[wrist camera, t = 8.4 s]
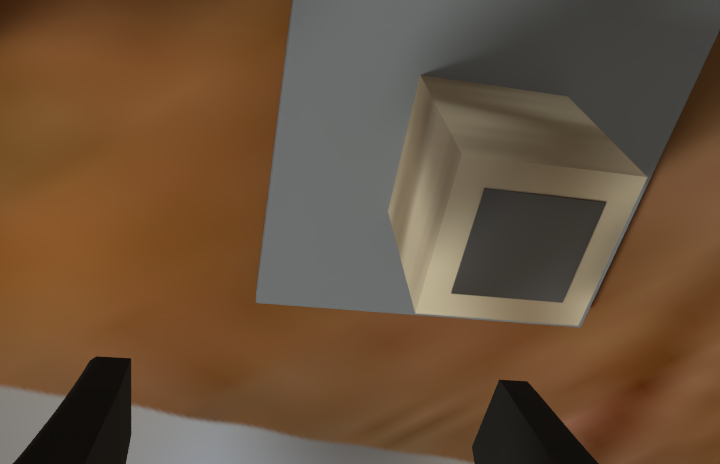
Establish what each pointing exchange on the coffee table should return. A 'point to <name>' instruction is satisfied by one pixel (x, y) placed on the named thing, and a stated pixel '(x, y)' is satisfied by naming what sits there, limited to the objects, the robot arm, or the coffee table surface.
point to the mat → (395, 102)
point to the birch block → (507, 203)
